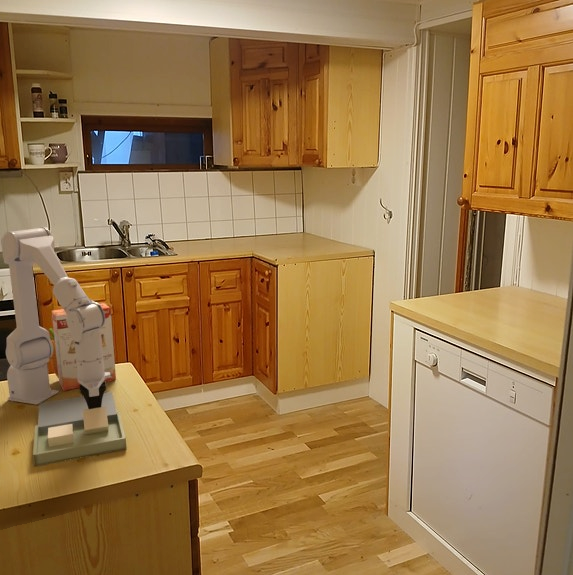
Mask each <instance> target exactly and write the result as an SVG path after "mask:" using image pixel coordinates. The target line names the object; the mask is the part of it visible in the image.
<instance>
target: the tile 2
mask: <svg viewBox="0 0 573 575" xmlns="http://www.w3.org/2000/svg"><path fill="white" fill-rule="evenodd" d="M83 420H84V429H85V435H86V434H92V433H97V432H103V431H109V428H108V419H107V412H106V407H100V408H94V409H88V410H83Z"/></svg>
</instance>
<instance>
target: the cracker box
mask: <svg viewBox="0 0 573 575" xmlns="http://www.w3.org/2000/svg"><path fill="white" fill-rule="evenodd" d="M99 304H100V305H101V307H102V309H103V311H104V314H105V323H104V325H103V326H102V327H100V329H101V339H102V350H103V361H104V371H105V372H110V378H106V379H105V383H107V382H111V381H116V380H117V377H116V375H117V373H116V361H115V350H114V347H115V346H114V335H113V325H112V324H113V323H112V322H113V321H112V312H111V311H112V310H111V306H109V305H107V303H105V302H102V303H101V302H100V303H99ZM51 315H52V316H51V318H52V326H53V328H52V329H53V330H54V337H55V347H56V357H57V366H58V376H59V378H58V383H59V385H60V387H61V389H62V391H63V392H65V391H69V390H73V389H78V388H79V385H80V383H79V382H78V380H77V377H78V371H77V362H76V352H75V343H74V340H72V337H71V332H70V330H69V328H68V325H67V322H66V319H67V314H66V313H65V311H64V309H63V308H61V309H54V310H51ZM79 389H80V388H79Z"/></svg>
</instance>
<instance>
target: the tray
mask: <svg viewBox="0 0 573 575" xmlns="http://www.w3.org/2000/svg"><path fill="white" fill-rule="evenodd" d="M108 428H109V431H103V432H97V433H92V434H86V435H85V429H84V426H82V427H76V428H73V436H74V442H73V443H68V444H62V445H56V446H51V447H49V443H48V432H47V433H41V434H39V429H38V424H36V425H34V436H33V448H32V449H33V450H32V459H33V467H38V466H45V465H49V464H54V463H55V464H56V463H59V462H60V463H61V462H65V460H66V461H70V459H71V460H76V459H80V457H82V458H85V457H86V456H87V457H93V456H97V455H103V454H107V453H108V454H109V453H112V452H113V453H114V452H118V451H123V450H124V451H125V450H127V448H128V447H127V437H126V433H125V429H124V425H123V422H122V417H121V413H120V411H117V421H111V422H108ZM102 453H103V454H102Z"/></svg>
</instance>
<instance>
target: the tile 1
mask: <svg viewBox="0 0 573 575" xmlns="http://www.w3.org/2000/svg"><path fill="white" fill-rule="evenodd" d="M73 442H74V436H73V425H72V424H68V425H62V426H56V427H51V428H48V443H49V447H51V446H56V445H62V444H68V443H73Z"/></svg>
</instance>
